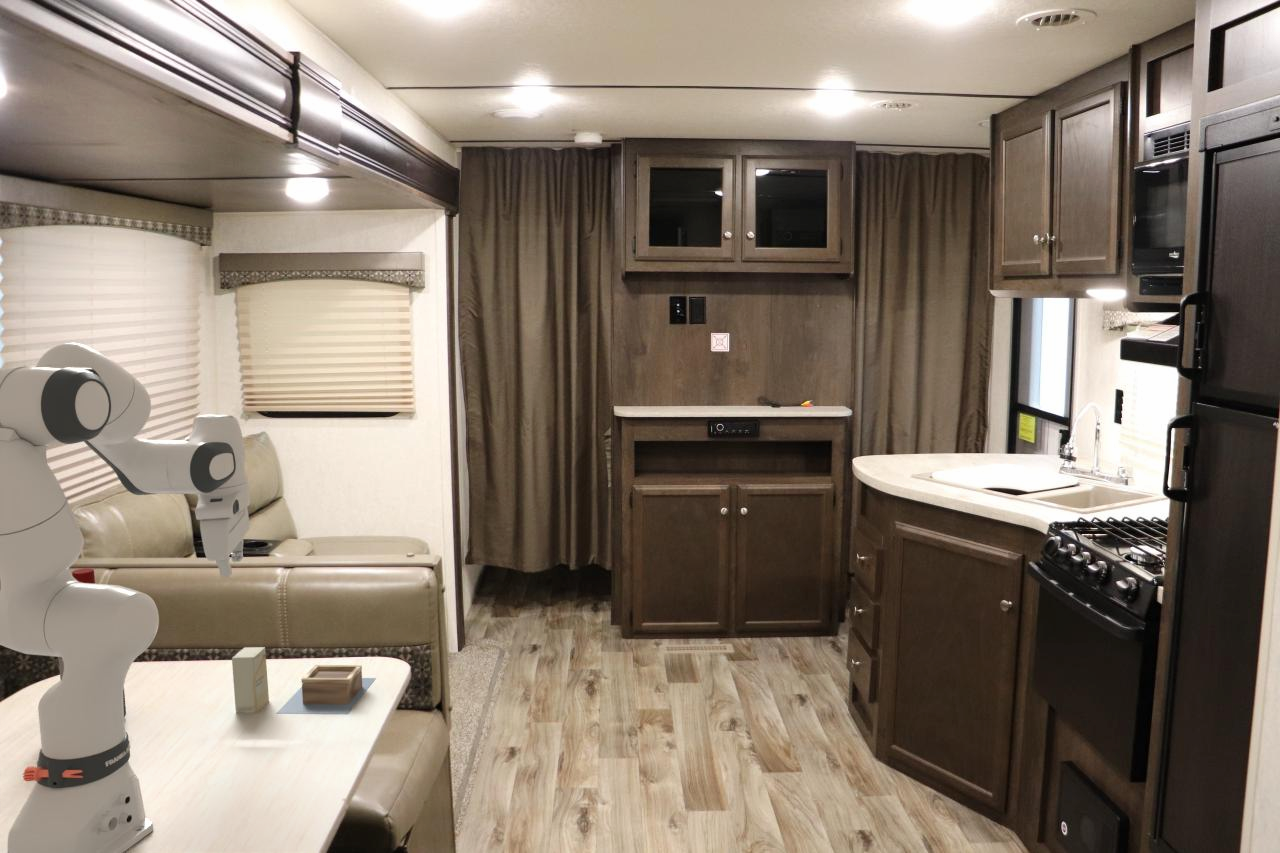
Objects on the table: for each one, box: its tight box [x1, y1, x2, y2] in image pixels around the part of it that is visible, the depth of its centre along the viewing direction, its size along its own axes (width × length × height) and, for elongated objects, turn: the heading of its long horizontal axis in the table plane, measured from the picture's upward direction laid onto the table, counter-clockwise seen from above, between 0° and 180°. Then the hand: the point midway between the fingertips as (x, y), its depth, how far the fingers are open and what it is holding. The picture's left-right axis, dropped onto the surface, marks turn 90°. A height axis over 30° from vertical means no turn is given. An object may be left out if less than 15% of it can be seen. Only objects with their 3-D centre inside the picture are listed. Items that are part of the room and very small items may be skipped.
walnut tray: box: [301, 664, 363, 704], centre depth 201 cm, size 9×10×5 cm
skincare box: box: [231, 646, 270, 714], centre depth 196 cm, size 6×4×12 cm
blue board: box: [276, 677, 377, 715], centre depth 202 cm, size 18×14×1 cm
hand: (232, 568), depth 191 cm, fingers open, 8 cm apart
